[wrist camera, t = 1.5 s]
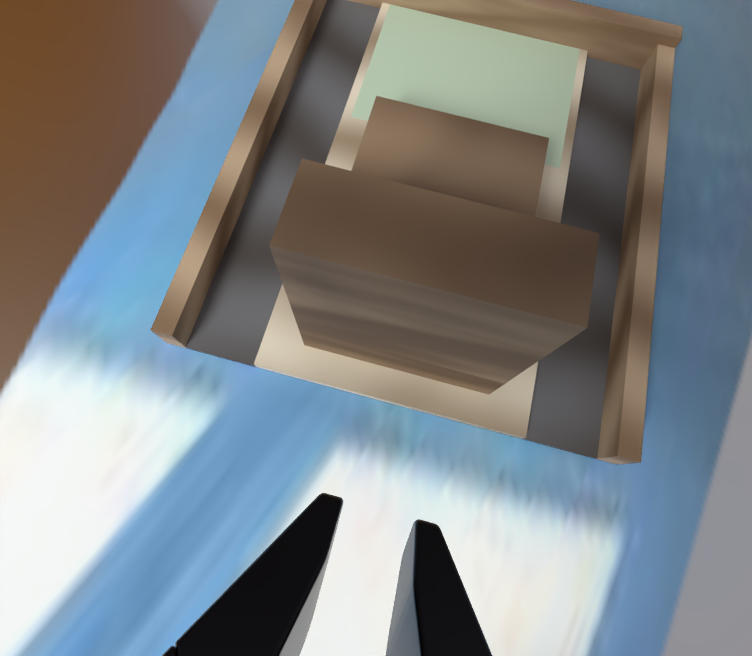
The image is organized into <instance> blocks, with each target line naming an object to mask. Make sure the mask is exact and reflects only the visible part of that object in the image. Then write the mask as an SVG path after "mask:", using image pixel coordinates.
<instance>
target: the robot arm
mask: <svg viewBox="0 0 752 656" xmlns="http://www.w3.org/2000/svg"><path fill="white" fill-rule="evenodd" d="M342 506H343V499H342V498H340V497H337V496H333V495H330V494H326V493H322V494H320V495H319V496H318V497H317V498H316V499H315V500H314V501H313V502H312V503H311V504H310V505H309V506H308V507H307V508H306V509H305V510H304V511H303V512H302V513H301V514H300V515H299V516H298V517H297V518H296V519H295V520H294V521H293V522H292V523H291V524H290V525H289V526H288V527H287V528H286V529H285V530H284V532H283V533H282V534H281V535H280V536H279V537H278V538H277V539H276V540H275V541H274V542H273V543H272V544H271V545H270V546H269V547H268V548H267V549H266V550H265V551H264V552H263V553H262V554H261V555H260V556H259V557H258V558H257V559H256V560H255V561H254V562H253V563H252V564H251V565H250V566H249V567H248V568H247V569H246V570H245V571H244V572H243V574H242V575H241V576H240V577H239V578H238V579H237V580H236V581H235V582H234V583H233V584H232V585H231V586H230V587H229V588H228V589H227V590H226V591H225V592H224V593H223V594H222V595H221V596H220V597H219V598H218V599H217V600H216V601H215V602H214V603H213V604H212V605H211V606H210V607H209V608H208V609H207V610H206V611H205V612H204V613H203V614H202V616H201V617H200V618H199V619H198V620H197V621H196V622H195V623H194V624H193V625H192V626H191V627H190V628H189V629H188V630H187V631H186V632H185V633H184V634H183V635H182V636H181V637H180V638H179V639H178V640H177V641H176V644H175V647H174V646H171V647H170V648H169V649H168V650H167V651H166V652H165V653H164V654H163V655H162V656H299V655H300V652H301V650H302V647H303V644H304V642H305V639H306V636H307V633H308V631H309V627H310V624H311V621H312V618H313V614H314V610H315V607H316V603H317V599H318V596H319V592H320V588H321V585H322V581H323V577H324V574H325V570H326V566H327V563H328V559H329V555H330V552H331V548H332V544H333V541H334V537H335V533H336V529H337V525H338V521H339V518H340V514H341V510H342ZM386 656H492V654H491V652H490V649H489V647H488V644H487V642H486V639H485V637H484V635H483V632H482V630H481V627H480V625H479V622H478V620H477V617H476V615H475V613H474V610H473V608H472V605H471V603H470V600H469V598H468V595H467V593H466V591H465V588H464V586H463V583H462V581H461V578H460V576H459V574H458V571H457V569H456V566H455V564H454V561H453V559H452V556H451V554H450V552H449V549H448V547H447V544H446V542H445V539H444V537H443V534H442V532H441V530H440V528H439V526H438V525H436V524H434V523H430V522H427V521H423V520H416V521H415V522H414V524H413V527H412V529H411V532H410V535H409V538H408V541H407V544H406V546H405V549H404V552H403V556H402V561H401V566H400V572H399V578H398V584H397V590H396V596H395V601H394V607H393V613H392V619H391V625H390V631H389V637H388V643H387V651H386Z"/></svg>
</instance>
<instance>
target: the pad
mask: <svg viewBox="0 0 752 656" xmlns="http://www.w3.org/2000/svg"><path fill="white" fill-rule="evenodd" d="M579 50H580V49H578V48H574V47H569V46H565V45H561V44H557V43H553V42H548V41H544V40H540V39H536V38H531V37H527V36H523V35H519V34H514V33H510V32H506V31H502V30H497V29H493V28H489V27H485V26H480V25H476V24H472V23H468V22H463V21H459V20H455V19H451V18H446V17H442V16H438V15H434V14H430V13H425V12H421V11H417V10H413V9H408V8H404V7H400V6H396V5H391V4H390V6H389V9H388V12H387V15H386V18H385V21H384V23H383V26H382V29H381V32H380V35H379V38H378V41H377V44H376V46H375V49H374V52H373V55H372V58H371V61H370V64H369V67H368V69H367V72H366V75H365V78H364V81H363V84H362V87H361V89H360V92H359V95H358V98H357V101H356V104H355V107H354V110H353V112H352V115H351V117H354V118H358V119H362V120H366V121H368V119H369V116H370V113H371V110H372V107H373V104H374V101H375V98H376V96H380V97H384V98H388V99H392V100H396V101H400V102H404V103H408V104H412V105H416V106H420V107H425V108H429V109H433V110H437V111H441V112H445V113H449V114H453V115H457V116H461V117H466V118H470V119H474V120H478V121H482V122H486V123H490V124H494V125H498V126H502V127H507V128H511V129H515V130H519V131H523V132H527V133H531V134H535V135H539V136H543V137H548V138H549V142H548V148H547V153H546V159H545V164H544V165H549V166H553V167H557V168H560V164H561V158H562V152H563V146H564V140H565V134H566V128H567V122H568V116H569V110H570V104H571V98H572V92H573V86H574V80H575V74H576V68H577V62H578V56H579Z"/></svg>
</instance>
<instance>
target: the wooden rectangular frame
mask: <svg viewBox="0 0 752 656" xmlns="http://www.w3.org/2000/svg"><path fill="white" fill-rule="evenodd" d="M390 4H391V5H396V6H400V7H404V8H408V9H413V10H417V11H421V12H425V13H430V14H434V15H438V16H442V17H446V18H451V19H455V20H459V21H463V22H468V23H472V24H476V25H480V26H485V27H489V28H493V29H497V30H502V31H506V32H510V33H514V34H519V35H523V36H527V37H531V38H536V39H540V40H544V41H548V42H553V43H557V44H561V45H565V46H569V47H574V48H578V49H580V50H579V56H578V62H577V68H576V74H575V80H574V86H573V92H572V98H571V104H570V110H569V116H568V122H567V128H566V134H565V140H564V146H563V152H562V158H561V164H560V168H557V167H553V166H549V165H544V170H543V176H542V181H541V187H540V192H539V198H538V203H537V209H536V215H535V217H537V218H541V219H545V220H549V221H553V222H557V223H561V224H565V225H569V226H573V227H577V228H581V229H585V230H589V231H593V232H597V233H600V234H599V242H598V249H597V257H596V265H595V273H594V280H593V288H592V296H591V304H590V312H589V319H588V327H587V328H586V329H585V330H583V331H582V332H581V333H579V334H578V335H576V336H575V337H573V338H572V339H570V340H569V341H567V342H566V343H564V344H563V345H561V346H560V347H558V348H557V349H556V350H554V351H553V352H551V353H550V354H548V355H547V356H545V357H544V358H542V359H541V360H539V361H538V362H536V363H535V364H534V365H532V366H531V367H529V368H528V369H526V370H525V371H523V372H522V373H520V374H519V375H517V376H516V377H514V378H513V379H511V380H510V381H509V382H507V383H506V384H504V385H503V386H501V387H500V388H498V389H497V390H495V391H494V392H492V393H491V394H489V395H488V394H485V393H481V392H477V391H474V390H470V389H466V388H462V387H459V386H455V385H451V384H447V383H444V382H440V381H436V380H432V379H429V378H425V377H421V376H417V375H414V374H410V373H406V372H402V371H399V370H395V369H391V368H388V367H384V366H380V365H376V364H373V363H369V362H365V361H361V360H358V359H354V358H350V357H346V356H343V355H339V354H335V353H331V352H328V351H324V350H320V349H316V348H313V347H309V346H305V345H304V343H303V340H302V337H301V334H300V331H299V329H298V326H297V323H296V320H295V317H294V314H293V312H292V309H291V306H290V303H289V300H288V297H287V295H286V292H285V289H284V286H283V283H282V280H281V278H280V275H279V272H278V269H277V266H276V263H275V261H274V258H273V255H272V252H271V249H270V246H269V244H270V241H271V239H272V236H273V234H274V231H275V228H276V226H277V223H278V220H279V218H280V215H281V212H282V210H283V207H284V204H285V202H286V199H287V196H288V194H289V191H290V188H291V186H292V183H293V180H294V178H295V175H296V172H297V170H298V167H299V164H300V162H301V159H306V160H310V161H314V162H318V163H322V164H326V165H330V166H334V167H338V168H342V169H346V170H350V171H351V170H352V167H353V164H354V161H355V158H356V155H357V152H358V149H359V146H360V143H361V140H362V137H363V134H364V131H365V128H366V125H367V122H368V121H366V120H362V119H358V118H354V117H351V115H352V112H353V110H354V107H355V104H356V101H357V98H358V95H359V92H360V89H361V87H362V84H363V81H364V78H365V75H366V72H367V69H368V67H369V64H370V61H371V58H372V55H373V52H374V49H375V46H376V44H377V41H378V38H379V35H380V32H381V29H382V26H383V23H384V21H385V18H386V15H387V12H388V9H389V6H390ZM682 30H683V26H679V25H674V24H670V23H666V22H661V21H657V20H653V19H648V18H644V17H640V16H636V15H631V14H627V13H623V12H618V11H614V10H610V9H605V8H601V7H597V6H592V5H588V4H584V3H579V2H575V1H571V0H295V1H294V4H293V6H292V8H291V10H290V13H289V15H288V17H287V20H286V22H285V24H284V26H283V29H282V31H281V33H280V36H279V38H278V40H277V42H276V45H275V47H274V49H273V52H272V54H271V56H270V58H269V61H268V63H267V65H266V68H265V70H264V72H263V74H262V77H261V79H260V81H259V84H258V86H257V88H256V90H255V93H254V95H253V97H252V100H251V102H250V104H249V106H248V109H247V111H246V113H245V115H244V118H243V120H242V122H241V125H240V127H239V129H238V131H237V134H236V136H235V138H234V141H233V143H232V145H231V147H230V150H229V152H228V154H227V157H226V159H225V161H224V163H223V166H222V168H221V170H220V173H219V175H218V177H217V179H216V182H215V184H214V186H213V189H212V191H211V193H210V195H209V198H208V200H207V202H206V205H205V207H204V209H203V211H202V214H201V216H200V218H199V221H198V223H197V225H196V227H195V230H194V232H193V234H192V237H191V239H190V241H189V243H188V246H187V248H186V250H185V252H184V255H183V257H182V259H181V262H180V264H179V266H178V268H177V271H176V273H175V275H174V278H173V280H172V282H171V284H170V287H169V289H168V291H167V294H166V296H165V298H164V300H163V303H162V305H161V307H160V310H159V312H158V314H157V316H156V319H155V321H154V323H153V326H152V328H151V331H152V332H154V333H155V334H156V335H158V336H159V337H160V338H161V339H163V340H164V341H165V342H167V343H169V344H173V345H177V346H180V347H184V348H188V349H192V350H195V351H199V352H203V353H206V354H210V355H214V356H217V357H221V358H225V359H229V360H232V361H236V362H240V363H243V364H247V365H251V366H254V367H258V368H262V369H266V370H269V371H273V372H277V373H280V374H284V375H288V376H291V377H295V378H299V379H303V380H306V381H310V382H314V383H317V384H321V385H325V386H328V387H332V388H336V389H339V390H343V391H347V392H351V393H354V394H358V395H362V396H365V397H369V398H373V399H376V400H380V401H384V402H388V403H391V404H395V405H399V406H402V407H406V408H410V409H413V410H417V411H421V412H425V413H428V414H432V415H436V416H439V417H443V418H447V419H450V420H454V421H458V422H461V423H465V424H469V425H473V426H476V427H480V428H484V429H487V430H491V431H495V432H498V433H502V434H506V435H510V436H513V437H517V438H521V439H524V440H528V441H532V442H535V443H539V444H543V445H547V446H550V447H554V448H558V449H561V450H565V451H569V452H572V453H576V454H580V455H584V456H587V457H591V458H595V459H598V460H602V461H606V462H609V463H613V464H628V463H639V462H641V455H642V443H643V431H644V418H645V406H646V394H647V382H648V370H649V358H650V346H651V334H652V322H653V310H654V298H655V285H656V273H657V261H658V249H659V237H660V225H661V213H662V201H663V189H664V177H665V164H666V152H667V140H668V128H669V116H670V104H671V92H672V80H673V68H674V56H675V48H676V46H677V45H678V44H679V42H680V41H681V39H682Z"/></svg>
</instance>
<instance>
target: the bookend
mask: <svg viewBox="0 0 752 656" xmlns="http://www.w3.org/2000/svg"><path fill="white" fill-rule="evenodd" d="M548 142H549V138H548V137H543V136H539V135H535V134H531V133H527V132H523V131H519V130H515V129H511V128H507V127H502V126H498V125H494V124H490V123H486V122H482V121H478V120H474V119H470V118H466V117H461V116H457V115H453V114H449V113H445V112H441V111H437V110H433V109H429V108H425V107H420V106H416V105H412V104H408V103H404V102H400V101H396V100H392V99H388V98H384V97H380V96H376V98H375V101H374V104H373V107H372V110H371V113H370V116H369V119H368V122H367V125H366V128H365V131H364V134H363V137H362V140H361V143H360V146H359V149H358V152H357V155H356V158H355V161H354V164H353V167H352V170H351V171H350V170H346V169H342V168H338V167H334V166H330V165H326V164H322V163H318V162H314V161H310V160H306V159H301V162H300V164H299V167H298V170H297V172H296V175H295V178H294V180H293V183H292V186H291V188H290V191H289V194H288V196H287V199H286V202H285V204H284V207H283V210H282V212H281V215H280V218H279V220H278V223H277V226H276V228H275V231H274V234H273V236H272V239H271V241H270V244H269V246H270V249H271V252H272V255H273V258H274V261H275V263H276V266H277V269H278V272H279V275H280V278H281V280H282V283H283V286H284V289H285V292H286V295H287V297H288V300H289V303H290V306H291V309H292V312H293V314H294V317H295V320H296V323H297V326H298V329H299V331H300V334H301V337H302V340H303V343H304V345H305V346H309V347H313V348H316V349H320V350H324V351H328V352H331V353H335V354H339V355H343V356H346V357H350V358H354V359H358V360H361V361H365V362H369V363H373V364H376V365H380V366H384V367H388V368H391V369H395V370H399V371H402V372H406V373H410V374H414V375H417V376H421V377H425V378H429V379H432V380H436V381H440V382H444V383H447V384H451V385H455V386H459V387H462V388H466V389H470V390H474V391H477V392H481V393H485V394H488V395H489V394H491V393H492V392H494V391H495V390H497V389H498V388H500V387H501V386H503V385H504V384H506V383H507V382H509V381H510V380H511V379H513V378H514V377H516V376H517V375H519V374H520V373H522V372H523V371H525V370H526V369H528V368H529V367H531V366H532V365H534V364H535V363H536V362H538V361H539V360H541V359H542V358H544V357H545V356H547V355H548V354H550V353H551V352H553V351H554V350H556V349H557V348H558V347H560V346H561V345H563V344H564V343H566V342H567V341H569V340H570V339H572V338H573V337H575V336H576V335H578V334H579V333H581V332H582V331H583V330H585V329H586V328H587V327H588V319H589V312H590V304H591V296H592V288H593V280H594V273H595V265H596V257H597V249H598V242H599V234H600V233H597V232H593V231H589V230H585V229H581V228H577V227H573V226H569V225H565V224H561V223H557V222H553V221H549V220H545V219H541V218H537V217H535V215H536V209H537V203H538V198H539V192H540V187H541V181H542V176H543V170H544V164H545V159H546V153H547V148H548Z"/></svg>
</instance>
